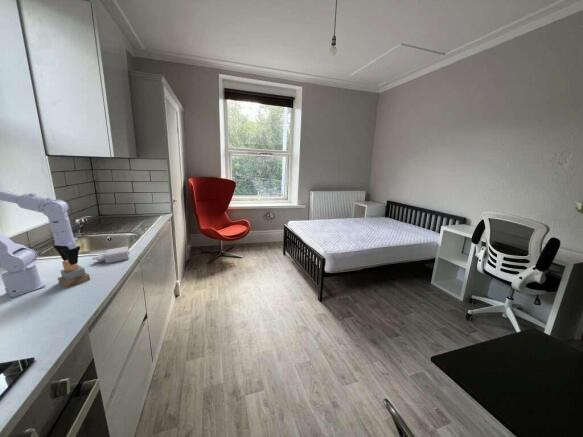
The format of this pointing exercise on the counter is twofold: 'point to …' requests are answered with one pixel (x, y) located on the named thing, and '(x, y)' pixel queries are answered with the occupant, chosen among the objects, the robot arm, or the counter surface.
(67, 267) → the cylinder
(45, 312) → the counter surface
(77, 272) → the upper block
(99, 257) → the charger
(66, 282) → the base slab
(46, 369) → the counter surface
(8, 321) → the counter surface
